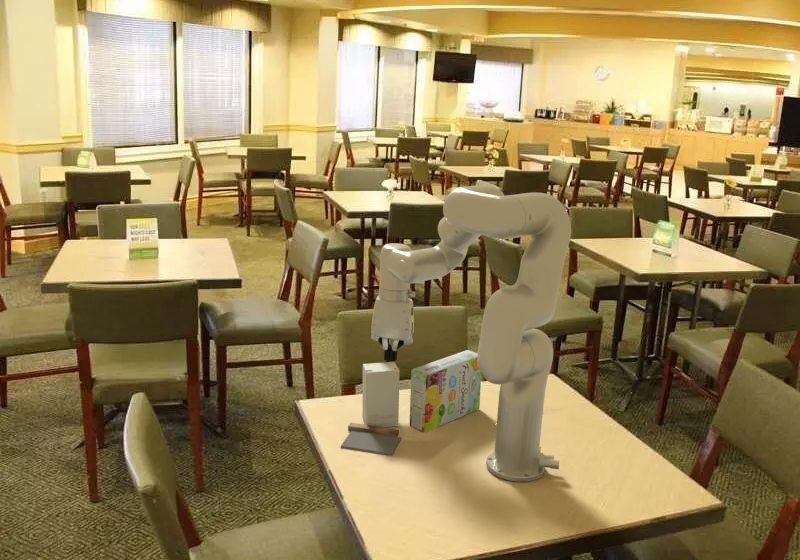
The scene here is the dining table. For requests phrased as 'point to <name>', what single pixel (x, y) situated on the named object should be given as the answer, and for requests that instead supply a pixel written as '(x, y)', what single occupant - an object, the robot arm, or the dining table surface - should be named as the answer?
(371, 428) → the rail
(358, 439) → the mat
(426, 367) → the snack box
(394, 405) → the skincare box
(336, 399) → the dining table surface
